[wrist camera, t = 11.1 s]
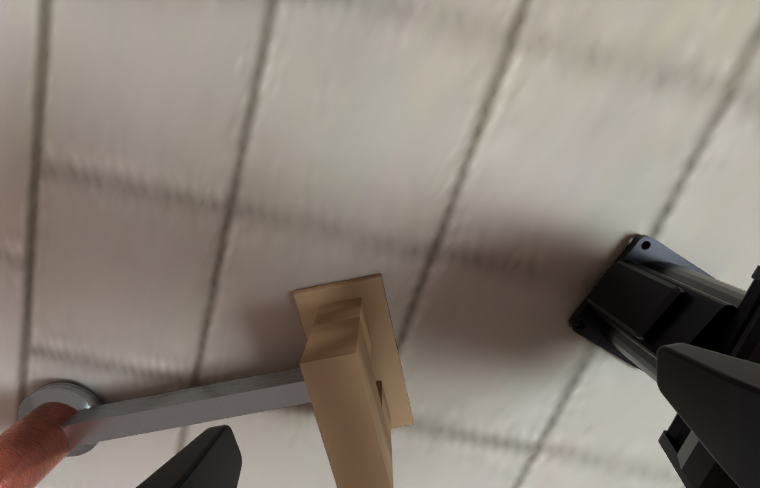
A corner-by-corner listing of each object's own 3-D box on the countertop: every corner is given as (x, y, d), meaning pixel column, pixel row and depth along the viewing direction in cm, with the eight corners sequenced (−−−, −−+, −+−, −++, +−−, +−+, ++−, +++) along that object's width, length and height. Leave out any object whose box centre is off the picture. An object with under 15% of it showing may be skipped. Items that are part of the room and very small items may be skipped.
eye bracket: (380, 273, 20) (382, 325, 14) (412, 418, 22) (425, 512, 17) (294, 290, 20) (261, 348, 14) (336, 432, 23) (322, 529, 17)
